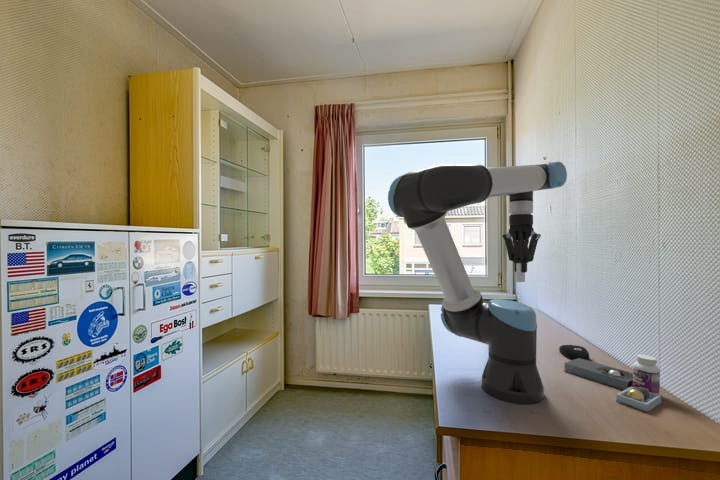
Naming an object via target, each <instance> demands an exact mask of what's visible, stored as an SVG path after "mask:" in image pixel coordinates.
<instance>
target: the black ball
mask: <svg viewBox="0 0 720 480" xmlns="http://www.w3.org/2000/svg"><path fill="white" fill-rule="evenodd" d="M636 390H639V391H640V392H641V393H642V394H643V396H644V399H648V398H649V392H648V391H647V390H646V389H645V388H642V387H638V388H636Z"/></svg>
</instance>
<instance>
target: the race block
mask: <svg viewBox="0 0 720 480" xmlns="http://www.w3.org/2000/svg"><path fill="white" fill-rule="evenodd" d="M610 370H616V371H618V372H619V373H620V374H621V376H615V375H611V374H608V372H609V371H610ZM564 372H567V373H570V374H573V375H577V376H579V377H582V378H584V379H589V380H591V381H595V382H598V383H601V384H604V385H607V386H610V387H613V388H615V389H619V390H622V391H624V390H626V389H628V388H630V387H633V372H630V371H627V370H622V369H619V368H616V367H613V366H609V365H604V364H602V363H598V362H594V361H591V360H589V361H588V360H584V359H581V358H577V359H575V360H568V361H566V362H564Z"/></svg>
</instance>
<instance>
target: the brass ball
mask: <svg viewBox="0 0 720 480" xmlns="http://www.w3.org/2000/svg"><path fill="white" fill-rule="evenodd" d="M627 396H628V398H631V399H634V400H637V401H640V402H643V401H644V396H643V394H642V393H641V392H640V391H639V390H636V389H630V390H629V391H628V392H627Z"/></svg>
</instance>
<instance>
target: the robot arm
mask: <svg viewBox="0 0 720 480" xmlns="http://www.w3.org/2000/svg"><path fill="white" fill-rule="evenodd" d="M567 175H568V173H567V168H566V165H565V164H564V163H563V162H561V161H553V162H551V161H550V162H549V161H548V162H547V163H543V164H527V165H512V166H511V165H509V166H496V167H486V166H485V165H482V164H481V163H480V164H478V163H477V164H465V163H462V164H458V163H457V164H456V163H455V164H454V163H453V164H438V165H437V164H436V165H432V166H430V167H427V168H423V169H418V170H415V171H410V172H409V171H408V172H407V173H404V174H402V175H400V176H398V177H396V178H395V179H394V180H393V181H392V182H391V184H390V186H389V190H388V193H387V200H388V201H387V202H388V206H389V208H390V210H391V212H392V213H393V214H394V215H396V216H398V217H400V218H403V219H404V222H405V223H406V224H405V225H406V226H407V228H408V229H409V230H410V229H411V230H414V231H415V233H416V235H417V238H418V239H419V243H420V245H421V247H422V249H423V251H424V253H425V256H426V258H427V260H428V262H429V265H430V267H431V269H432V271H433V274H434V277H435V279H436V281H437V283H438V285H439V287H440V290H441V292H442V294H443V297H444V298H443V300H442V304H441V308H440V311H441V313H440V318H441V319H440V320H441V322H442V324H443V326H444V328H445V329H446V330H447V331H448V332H450V333H451V334H454V335H455V336H458V337H460V338H465V339H468V340H472V341H474V342H477V343H482V344H485V345H488V357H487V362H486V363H485V367H484V369H483V372H482V375H481V388H482V389H483V390H484V391H485V392H486V393H487V394H489V395H490V396H493V397H495V398H497V399H500V400H503V401H506V402H511V403H516V404H536V403H539V402H541V401H543V400H544V397H545V392H544V391H545V388H544V385H543V381H542V378H541V375H540V372H539V369H538V366H537V334H538V333H537V330H538V324H537V313H536V311H535V310H534V309H533V308H532V307H531V306H529V305H527V304H525V303H522V302H519V301H514V300H508V299H503V298H494V299H490V300H489V301H488V302H486V301H485V300H484V299H483V295H482V294H481V291H480V290H479V289H478V288H476V287H473V285H472V283H471V280H470V277H469V276H468V273H467V271H466V268H465V266H464V263H463V261H462V258H461V255H460V253H459V251H458V248H457V246H456V243H455V242H454V238H453V237H452V234H451V231H450V229H449V226H448V224H447V222H446V219H445V217H446V216H447V213H448V212H449V211H454V210H457V209H460V208H464V207H466V206H470V205H475V204H481V203H483V202H484V201H485V202H486V200H487V199H488V198H494V197H500V196H501V197H502V196H508V199H509V200H508V201H509V204H508V214H510V215H509V216H508V226H509V228H508V232H507V233H505V234H502V238H503V240H504V242H505V246H506V248H505V249H506V250H507V257H508V260H509V261H511V262H513V265H514V272H515V278H516V279H515V281H516V282H517V283H525V282H526V273H527V272H528V263H530V262H533V261H534V257H535V253H536V250H537V245H538V243H539V242H538V241H539V239H540V238H541V236H542V234H541V233H537V232H536V231H535V230H534V227H533V225H534V214H533V213H534V192H535V191H543V190H544V191H545V190H549V189H550V190H552V189H556V188H562V187H563V186H565V184H566V182H567V180H568V179H567V178H568V176H567Z"/></svg>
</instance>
